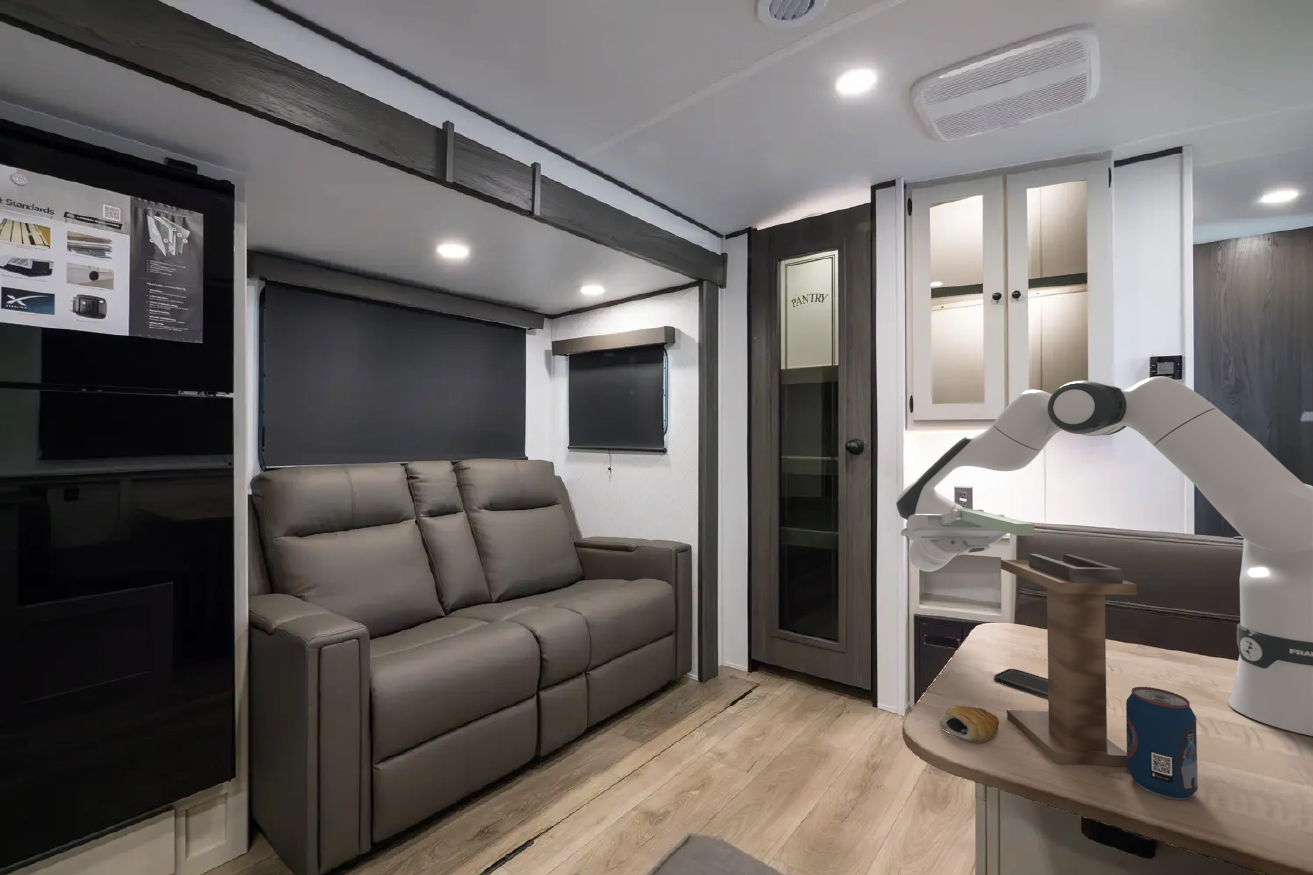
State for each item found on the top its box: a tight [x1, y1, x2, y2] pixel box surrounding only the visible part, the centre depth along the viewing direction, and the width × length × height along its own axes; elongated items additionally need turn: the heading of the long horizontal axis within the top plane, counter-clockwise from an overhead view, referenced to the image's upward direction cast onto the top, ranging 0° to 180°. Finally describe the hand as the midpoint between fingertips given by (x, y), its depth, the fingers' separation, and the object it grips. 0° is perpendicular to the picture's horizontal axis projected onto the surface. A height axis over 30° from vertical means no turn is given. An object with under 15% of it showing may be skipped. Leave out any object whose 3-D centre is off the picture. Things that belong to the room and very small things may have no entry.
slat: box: [954, 507, 1036, 537], centre depth 108 cm, size 3×24×2 cm, turn 175°
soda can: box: [1125, 686, 1198, 801], centre depth 74 cm, size 7×7×12 cm
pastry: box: [938, 705, 1000, 744], centre depth 89 cm, size 9×7×4 cm
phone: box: [993, 668, 1048, 700], centre depth 104 cm, size 8×1×15 cm
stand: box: [1000, 553, 1138, 768], centre depth 86 cm, size 10×16×28 cm, turn 175°
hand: (969, 512), depth 116 cm, fingers closed on slat, 3 cm apart
